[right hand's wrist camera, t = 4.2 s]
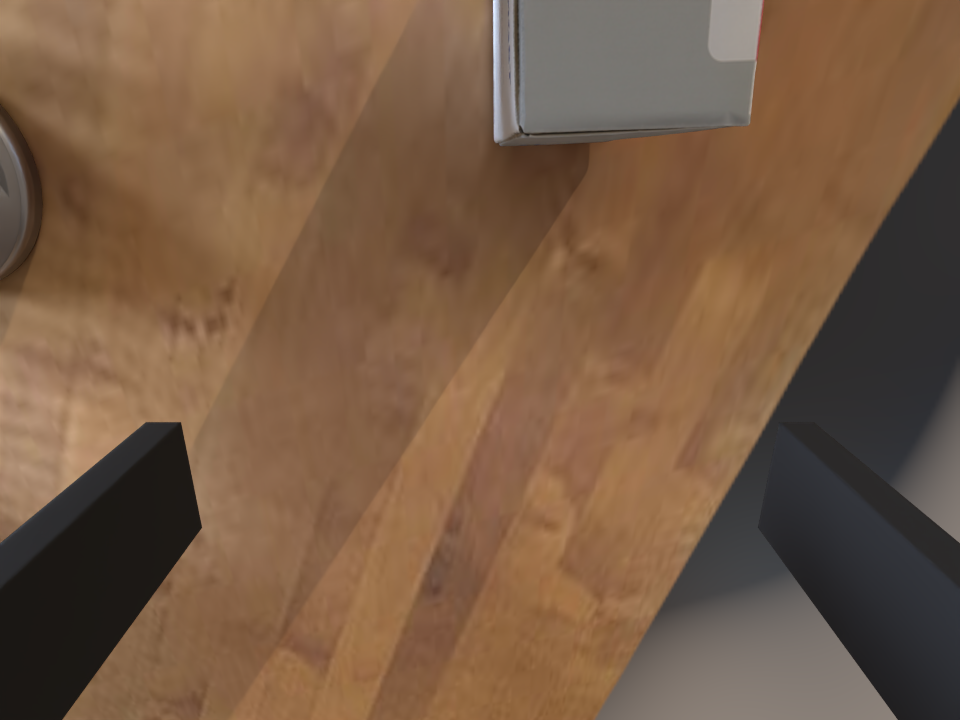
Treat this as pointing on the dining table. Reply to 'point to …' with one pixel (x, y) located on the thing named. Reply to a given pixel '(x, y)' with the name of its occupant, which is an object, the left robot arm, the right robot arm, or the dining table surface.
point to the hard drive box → (621, 68)
